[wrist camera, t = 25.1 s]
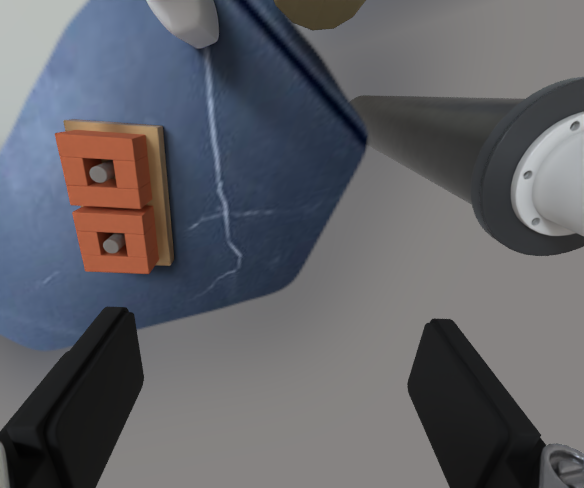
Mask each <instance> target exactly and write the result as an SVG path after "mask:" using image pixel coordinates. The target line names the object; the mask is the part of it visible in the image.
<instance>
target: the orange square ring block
mask: <svg viewBox="0 0 584 488" xmlns="http://www.w3.org/2000/svg"><path fill="white" fill-rule="evenodd" d="M72 214H73V218H74V223H75V227H76V231H77V236H78V241H79V246H80V250H81V254H82V259H83V263H84V268H85V271H90V272H114V273H137V274H149V273H150V272H151V270H152V269H153V268H154V266H155V265H156V263H157V262H158V261H159V255H158V246H157V237H156V227H155V218H154V208H153V206H147V205H145V206H144V207H142V208H141V209H132V208H114V207H96V206H83V207H81V208H79V209H77V210H76V211H74V212H72ZM114 233H125V241H126V244H125V245H124V246H123V247H122V248H121V249H120V250H119V251H118V252H116V253H108V252H107V251H105V249H104V247H103V243H104V241H106V240H107V239H108V238H109V237H110V236H111V235H113V234H114Z"/></svg>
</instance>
